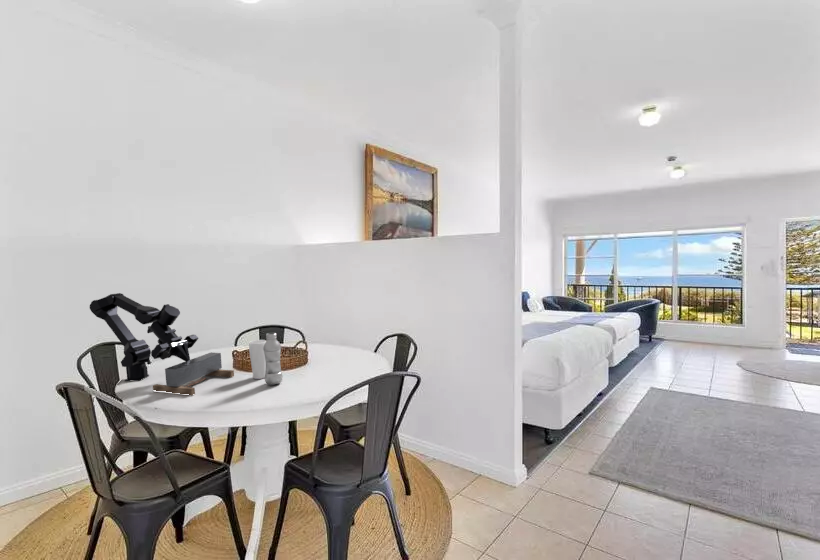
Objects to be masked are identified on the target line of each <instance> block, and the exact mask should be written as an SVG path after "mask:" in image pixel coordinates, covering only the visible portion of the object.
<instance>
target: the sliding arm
mask: <svg viewBox="0 0 820 560" xmlns="http://www.w3.org/2000/svg"><path fill="white" fill-rule="evenodd" d="M222 368H223V367H222V354H221V352H211V351H210V352H208V353H205V354H203V355H200V356H196V357H194V358H190V360H188V361H184V362H180V363H177V364H174V365H172V366H169V367H166V368H164V372H165V373H164V375H165V385H166V386H174V387H178V386H180V385H183V384H185V383H188V382H190V381H192V380H195V379H197V378H199V377H202V378H203V377H204V376H208V375H207V374H209V373H211V372H214V371H216V370H219V369H222Z"/></svg>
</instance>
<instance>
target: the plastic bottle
mask: <svg viewBox="0 0 820 560" xmlns="http://www.w3.org/2000/svg"><path fill="white" fill-rule="evenodd" d="M265 334H266V335H265V336H266V337H265V339H266V342H265V344H264V347H263V350H264V355H265V361H266V362H265V363H266V369H265V378H264V383H265V384H266V385H268V386H273V385H274V386H275V385H278V384H280V383H282V381H283V376H284V375H283V372H282V368H281V352H282V351H281V350H282V345H281V343H280V341H278V339H277V333H276V332H267V333H265Z"/></svg>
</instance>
